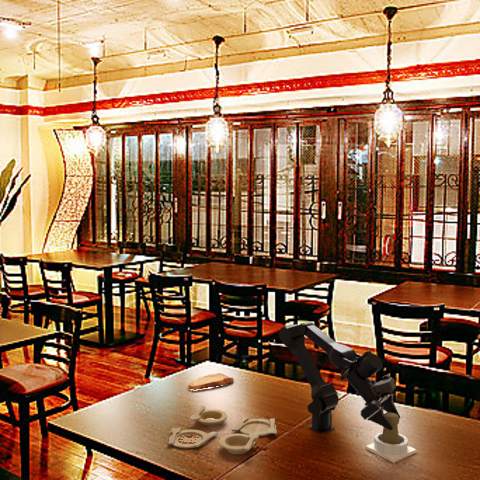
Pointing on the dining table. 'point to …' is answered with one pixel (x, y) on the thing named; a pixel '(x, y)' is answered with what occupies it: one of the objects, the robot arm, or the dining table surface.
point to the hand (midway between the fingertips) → (395, 423)
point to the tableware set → (229, 442)
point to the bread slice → (210, 381)
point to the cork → (391, 435)
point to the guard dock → (389, 457)
